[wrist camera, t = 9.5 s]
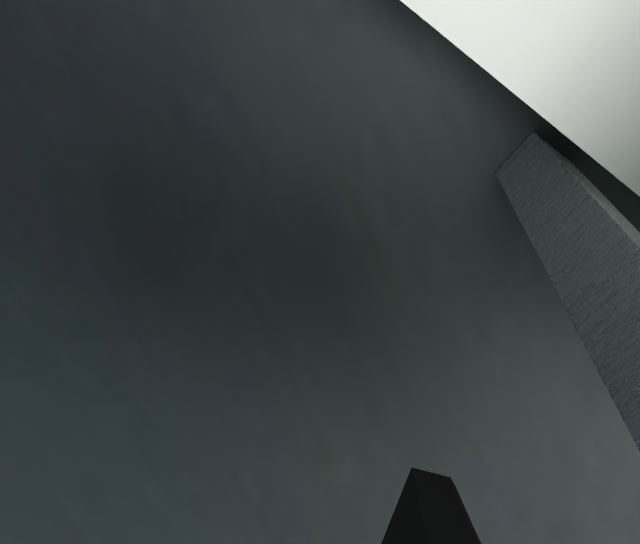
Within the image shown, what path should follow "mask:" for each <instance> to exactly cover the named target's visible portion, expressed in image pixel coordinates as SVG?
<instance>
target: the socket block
mask: <svg viewBox="0 0 640 544" xmlns="http://www.w3.org/2000/svg"><path fill="white" fill-rule="evenodd" d="M400 1H402V2H403V3H404V4H405V5H407V6H408V7H409V8H410V9H411V10H413V11H414V12H415V13H416V14H418V15H419V16H420V17H421V18H422V19H424V20H425V21H426V22H427V23H429V24H430V25H431V26H432V27H433V28H435V29H436V30H437V31H438V32H440V33H441V34H442V35H443V36H444V37H446V38H447V39H448V40H449V41H450V42H452V43H453V44H454V45H455V46H457V47H458V48H459V49H460V50H461V51H463V52H464V53H465V54H466V55H468V56H469V57H470V58H471V59H472V60H474V61H475V62H476V63H477V64H479V65H480V66H481V67H482V68H483V69H485V70H486V71H487V72H488V73H489V74H491V75H492V76H493V77H494V78H496V79H497V80H498V81H499V82H500V83H502V84H503V85H504V86H505V87H507V88H508V89H509V90H510V91H511V92H513V93H514V94H515V95H516V96H518V97H519V98H520V99H521V100H522V101H524V102H525V103H526V104H527V105H528V106H530V107H531V108H532V109H533V110H535V111H536V112H537V113H538V114H539V115H541V116H542V117H543V118H544V119H546V120H547V121H548V122H549V123H550V124H552V125H553V126H554V127H555V128H557V129H558V130H559V131H560V132H561V133H563V134H564V135H565V136H566V137H567V138H569V139H570V140H571V141H572V142H574V143H575V144H576V145H577V146H578V147H580V148H581V149H582V150H583V151H585V152H586V153H587V154H588V155H589V156H591V157H592V158H593V159H594V160H596V161H597V162H598V163H599V164H600V165H602V166H603V167H604V168H605V169H607V170H608V171H609V172H610V173H611V174H613V175H614V176H615V177H616V178H617V179H619V180H620V181H621V182H622V183H624V184H625V185H626V186H627V187H628V188H630V189H631V190H632V191H633V192H635V193H636V194H637V195H638V196H639V197H640V0H400Z"/></svg>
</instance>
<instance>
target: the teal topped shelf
mask: <svg viewBox="0 0 640 544" xmlns="http://www.w3.org/2000/svg"><path fill="white" fill-rule="evenodd" d="M495 174H496V176H497V178H498V180H499V182H500V183H501V185H502V187H503V189H504V191H505V193H506V195H507V197H508V199H509V201H510V203H511V205H512V207H513V209H514V210H515V212H516V214H517V216H518V218H519V220H520V222H521V224H522V226H523V228H524V230H525V232H526V234H527V235H528V237H529V239H530V241H531V243H532V245H533V247H534V249H535V251H536V253H537V255H538V257H539V259H540V260H541V262H542V264H543V266H544V268H545V270H546V272H547V274H548V276H549V278H550V280H551V282H552V284H553V285H554V287H555V289H556V291H557V293H558V295H559V297H560V299H561V301H562V303H563V305H564V307H565V309H566V310H567V312H568V314H569V316H570V318H571V320H572V322H573V324H574V326H575V328H576V330H577V332H578V334H579V335H580V337H581V339H582V341H583V343H584V345H585V347H586V349H587V351H588V353H589V355H590V357H591V359H592V360H593V362H594V364H595V366H596V368H597V370H598V372H599V374H600V376H601V378H602V380H603V382H604V384H605V385H606V387H607V389H608V391H609V393H610V395H611V397H612V399H613V401H614V403H615V405H616V407H617V409H618V410H619V412H620V414H621V416H622V418H623V420H624V422H625V424H626V426H627V428H628V430H629V432H630V434H631V435H632V437H633V439H634V441H635V443H636V445H637V447H638V449H639V451H640V232H639V231H638V230H637V229H636V228H635V227H634V226H633V225H632V224H631V223H630V222H629V221H628V220H627V219H626V218H625V217H624V216H623V215H622V214H621V213H620V212H619V211H618V210H617V209H616V208H615V207H614V206H613V204H612V203H611V202H610V201H609V200H608V199H607V198H606V197H605V196H604V195H603V194H602V193H601V192H600V191H599V190H598V189H597V188H596V187H595V186H594V185H593V184H592V183H591V182H590V181H589V180H588V179H587V178H586V177H585V176H584V174H583V173H582V172H581V171H580V170H579V169H578V168H577V167H576V166H575V165H574V164H573V163H572V162H570V161H569V160H568V159H567V158H565V157H564V156H563V155H562V154H561V153H559V152H558V151H557V150H556V149H554V148H553V147H552V146H551V145H549V144H548V143H547V142H546V141H545V140H543V139H542V138H541V137H540V136H538V135H537V134H536V133H535V132H532V133H531V134H530V135H529V136H528V137H527V138H526V139H525V140H524V142H523V143H522V144H521V145H520V146H519V147H518V148H517V149H516V150H515V151H514V153H513V154H512V155H511V156H510V157H509V158H508V159H507V160H506V161H505V163H504V164H503V165H502V166H501V167H500V168H499V169H498V170H497V171H496V172H495Z"/></svg>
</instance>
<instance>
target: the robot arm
mask: <svg viewBox="0 0 640 544" xmlns="http://www.w3.org/2000/svg"><path fill="white" fill-rule="evenodd" d="M381 544H481V542H480V540H479V538H478V536H477V534H476V531H475V529H474V527H473V525H472V523H471V520H470V518H469V516H468V514H467V511H466V509H465V507H464V505H463V502H462V500H461V498H460V496H459V493H458V491H457V489H456V487H455V484H454V483H453V481H452V479H451V478H450V477H446V476H443V475H439V474H435V473H431V472H427V471H423V470H419V469H415V468H411V470H410V473H409V475H408V478H407V481H406V483H405V486H404V488H403V491H402V493H401V496H400V498H399V501H398V503H397V506H396V508H395V511H394V513H393V516H392V518H391V521H390V523H389V526H388V528H387V531H386V533H385V536H384V538H383V541H382V543H381Z"/></svg>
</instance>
